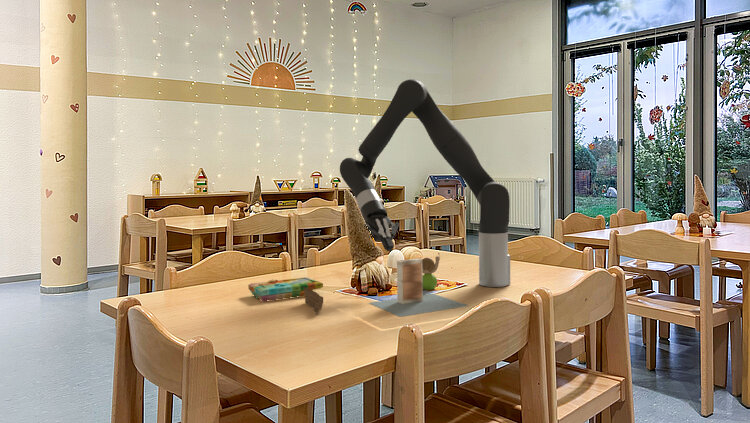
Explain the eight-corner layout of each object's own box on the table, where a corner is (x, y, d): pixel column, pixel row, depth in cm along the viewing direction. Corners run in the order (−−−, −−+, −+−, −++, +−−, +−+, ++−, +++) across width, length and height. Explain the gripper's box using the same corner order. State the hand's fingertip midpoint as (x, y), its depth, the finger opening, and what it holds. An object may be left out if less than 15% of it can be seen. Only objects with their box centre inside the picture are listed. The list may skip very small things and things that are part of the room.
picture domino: (418, 299, 168) (417, 258, 167) (423, 300, 166) (422, 259, 165) (397, 302, 165) (396, 260, 164) (402, 304, 163) (401, 261, 162)
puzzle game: (248, 281, 179) (307, 274, 189) (248, 296, 180) (308, 288, 190) (260, 288, 169) (322, 280, 179) (261, 304, 169) (323, 295, 179)
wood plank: (300, 304, 168) (300, 287, 167) (307, 303, 168) (306, 286, 168) (317, 316, 154) (316, 297, 153) (324, 315, 154) (324, 297, 154)
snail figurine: (439, 292, 178) (439, 254, 177) (418, 292, 180) (418, 253, 179) (441, 288, 184) (440, 251, 183) (421, 288, 185) (420, 251, 184)
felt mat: (432, 295, 175) (432, 293, 175) (469, 307, 159) (468, 305, 159) (368, 304, 165) (368, 302, 165) (400, 318, 149) (400, 316, 149)
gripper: (355, 199, 178) (375, 243, 169) (393, 198, 184) (413, 240, 175) (349, 215, 184) (367, 259, 174) (385, 213, 190) (405, 255, 180)
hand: (390, 249), depth 174 cm, fingers closed
